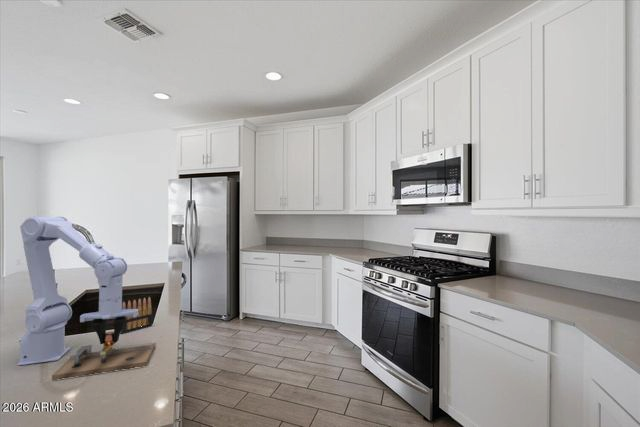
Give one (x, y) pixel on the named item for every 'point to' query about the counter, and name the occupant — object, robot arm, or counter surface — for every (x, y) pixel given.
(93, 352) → the steel beam
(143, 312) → the ammunition clip
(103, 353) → the sliding leg
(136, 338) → the counter surface
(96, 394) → the counter surface
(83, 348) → the fixed leg
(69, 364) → the hole plate
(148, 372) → the counter surface
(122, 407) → the counter surface
